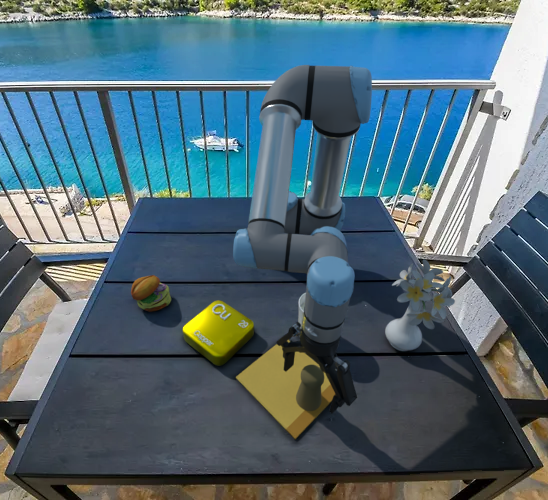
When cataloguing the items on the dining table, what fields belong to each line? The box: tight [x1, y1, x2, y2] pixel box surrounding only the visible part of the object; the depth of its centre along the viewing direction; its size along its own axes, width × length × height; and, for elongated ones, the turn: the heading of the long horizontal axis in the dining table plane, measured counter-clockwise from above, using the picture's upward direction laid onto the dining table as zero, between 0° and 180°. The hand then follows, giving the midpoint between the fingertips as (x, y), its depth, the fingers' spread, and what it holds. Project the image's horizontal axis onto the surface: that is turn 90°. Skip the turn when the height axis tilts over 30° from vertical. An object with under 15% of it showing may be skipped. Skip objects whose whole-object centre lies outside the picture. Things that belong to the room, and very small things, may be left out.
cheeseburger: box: [130, 274, 172, 313], centre depth 105 cm, size 10×11×10 cm
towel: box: [235, 339, 335, 440], centre depth 86 cm, size 18×20×1 cm
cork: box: [296, 365, 324, 411], centre depth 79 cm, size 6×6×11 cm
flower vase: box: [384, 259, 456, 352], centre depth 87 cm, size 13×18×25 cm
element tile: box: [181, 299, 255, 367], centre depth 96 cm, size 15×15×5 cm
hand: (310, 387), depth 80 cm, fingers open, 13 cm apart
